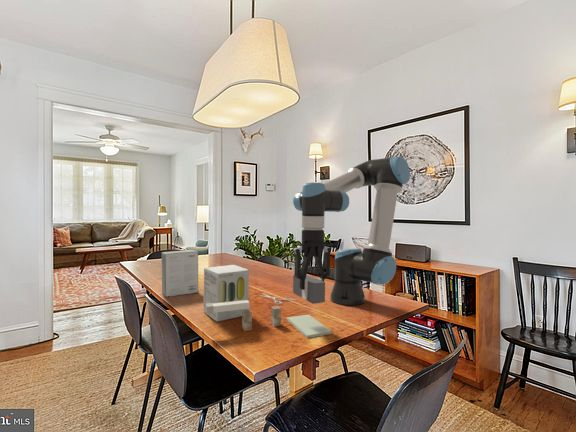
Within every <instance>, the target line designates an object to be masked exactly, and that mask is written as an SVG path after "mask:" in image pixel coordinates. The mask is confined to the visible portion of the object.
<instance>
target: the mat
mask: <svg viewBox="0 0 576 432" xmlns="http://www.w3.org/2000/svg"><path fill="white" fill-rule="evenodd" d="M286 320H287V321H288V323H289V324H291V325H292V326H293V327H294V328H295V329H296V330H297V331H298V332H300V333H301V334H302V335H303V336H304V337H305V338H307V339H308V338H315V337H321V336H328V335H331V334H332V333H333V331H332V330H330V329H329V328H328V327H326V326H325V325H324V324H322V323H321V322H320V321H318V320H317V319H316V318H314V317H313V316H311V315H310V314H304V315H303V314H302V315H295V316H287V317H286Z"/></svg>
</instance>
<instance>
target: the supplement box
mask: <svg viewBox="0 0 576 432" xmlns="http://www.w3.org/2000/svg"><path fill="white" fill-rule="evenodd" d="M249 275H250V273H249V269H248V268H245V267H241V266H239V265H236V264H228V265H218V266H209V267H204V268H203V312H204V313H205V314H206V315H207V316H209V317H210V318H211V319H213V320H214V321H215V322H217V323H218V322H221V321H227V320H230V319H235V318H240V317H242V310H247V309H240V310H232V311H223V312H215V313H213V314H207V313H206V311H205V303H212V304H214V303H223V302H233V301H242V300H248V301H249V302H250V300H249V298H250V297H249V296H250V295H249V294H250V293H249V292H250V291H249V287H250V283H249V282H250V281H249V277H250V276H249Z"/></svg>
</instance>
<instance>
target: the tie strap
mask: <svg viewBox="0 0 576 432" xmlns="http://www.w3.org/2000/svg"><path fill="white" fill-rule="evenodd" d="M250 305H251V302H250V300H249V301H248V300H242V301H233V302H223V303H214V304H212V303H205V311H206V313H207V314H213V313H215V312H223V311H232V310H240V309H250V308H251V306H250ZM206 313H205V314H206ZM207 314H206V315H207Z"/></svg>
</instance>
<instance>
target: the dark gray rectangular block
mask: <svg viewBox="0 0 576 432" xmlns="http://www.w3.org/2000/svg"><path fill="white" fill-rule="evenodd" d="M292 278H293V279H292V293H293V294H294V295H296V296H298V297H300V298H302V289H300V279H298V278H296V277H295V276H294V274H293V275H292ZM306 280H308V293H307V300H306V302H309V303H311V304H312V305H315V304H321V303H326V282H325V281H324V282H323V281H320V280H318V279H316V278H315V277H314V276H310V275H308V274H307V275H306ZM302 299H303V298H302Z"/></svg>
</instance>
